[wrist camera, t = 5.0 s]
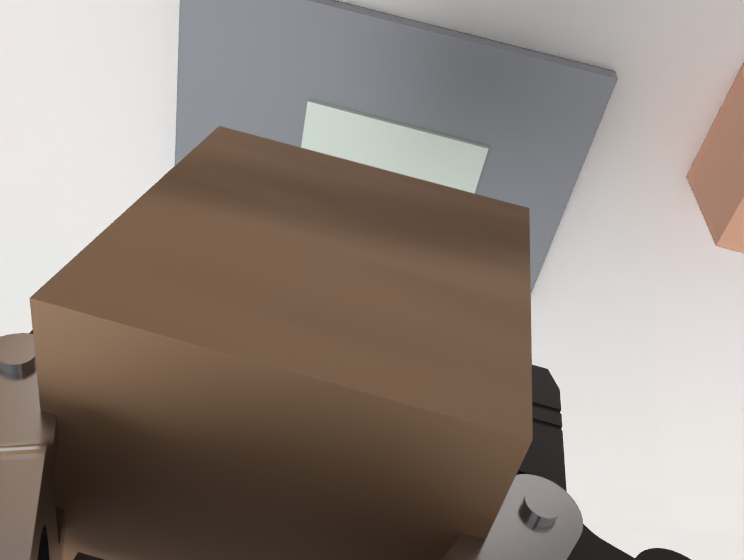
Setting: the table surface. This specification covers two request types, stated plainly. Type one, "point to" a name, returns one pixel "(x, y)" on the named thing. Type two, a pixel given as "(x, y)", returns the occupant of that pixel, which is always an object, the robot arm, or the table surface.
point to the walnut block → (288, 363)
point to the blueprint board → (393, 98)
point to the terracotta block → (723, 172)
